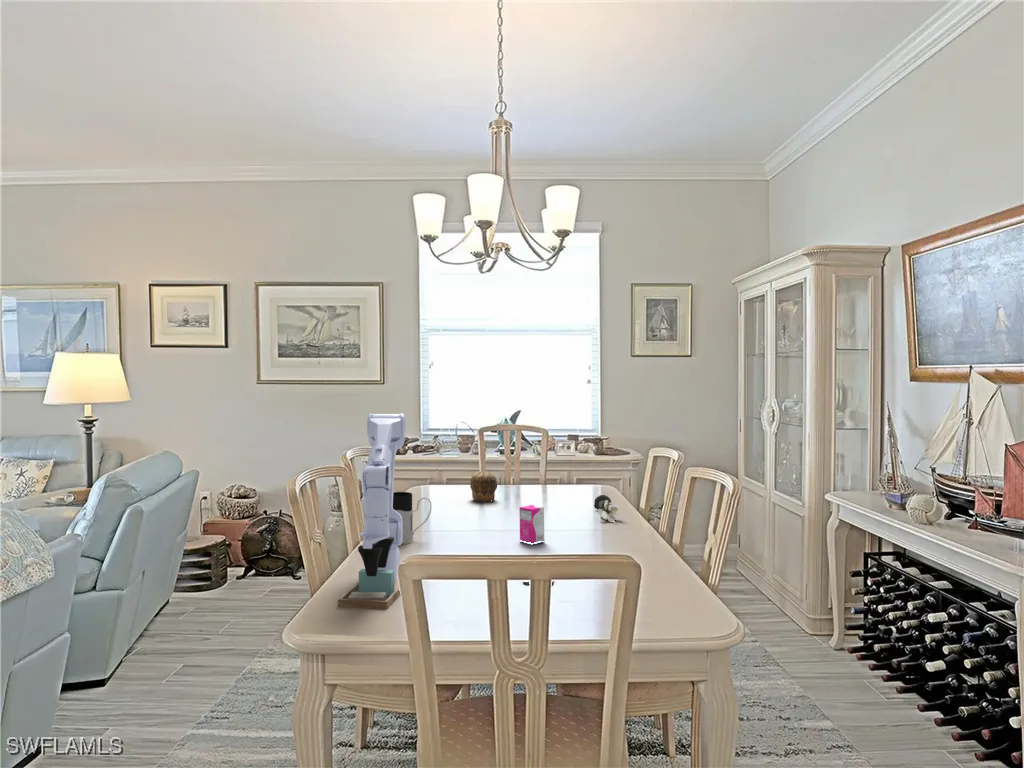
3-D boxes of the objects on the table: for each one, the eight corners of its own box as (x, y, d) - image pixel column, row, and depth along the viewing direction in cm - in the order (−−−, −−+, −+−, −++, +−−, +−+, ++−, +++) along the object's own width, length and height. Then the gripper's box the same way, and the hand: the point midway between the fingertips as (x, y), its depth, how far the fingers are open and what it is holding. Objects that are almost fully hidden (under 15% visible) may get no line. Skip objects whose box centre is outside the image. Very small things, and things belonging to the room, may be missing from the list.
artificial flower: (614, 514, 295) (621, 490, 293) (613, 534, 273) (621, 508, 271) (592, 507, 296) (599, 484, 294) (589, 527, 274) (597, 501, 272)
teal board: (362, 597, 186) (362, 568, 186) (394, 599, 185) (394, 570, 185) (358, 600, 184) (358, 571, 183) (391, 602, 182) (391, 573, 182)
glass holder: (387, 537, 248) (387, 491, 247) (431, 537, 249) (431, 491, 248) (385, 544, 239) (385, 496, 238) (431, 543, 240) (431, 496, 240)
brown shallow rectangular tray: (357, 594, 188) (357, 582, 188) (403, 596, 186) (403, 584, 186) (337, 612, 175) (337, 599, 174) (387, 615, 173) (387, 601, 173)
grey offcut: (351, 600, 179) (351, 592, 178) (386, 600, 178) (386, 592, 178) (348, 605, 175) (348, 597, 175) (383, 605, 175) (383, 597, 175)
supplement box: (531, 539, 247) (531, 504, 247) (544, 542, 243) (545, 506, 242) (518, 542, 243) (519, 506, 243) (532, 545, 239) (532, 509, 238)
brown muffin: (467, 502, 309) (467, 473, 309) (473, 497, 320) (473, 469, 320) (494, 503, 307) (494, 474, 307) (499, 498, 318) (499, 470, 318)
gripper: (370, 509, 191) (369, 563, 192) (350, 520, 177) (350, 579, 177) (397, 510, 190) (397, 564, 191) (379, 522, 176) (379, 580, 176)
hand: (376, 571), depth 184 cm, fingers open, 7 cm apart
